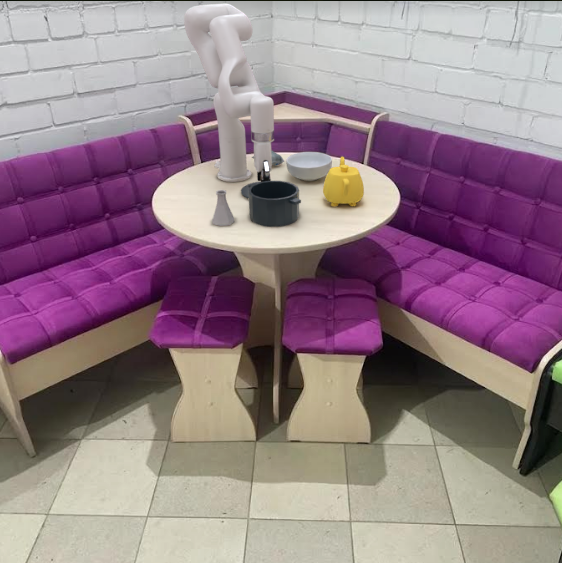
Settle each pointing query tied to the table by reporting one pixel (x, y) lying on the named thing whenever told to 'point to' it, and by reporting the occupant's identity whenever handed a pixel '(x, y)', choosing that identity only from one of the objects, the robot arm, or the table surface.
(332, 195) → the teapot
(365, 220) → the table surface
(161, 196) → the table surface
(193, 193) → the table surface
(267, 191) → the pot
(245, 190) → the pot lid
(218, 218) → the flask
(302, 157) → the cereal bowl
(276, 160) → the packaged food
